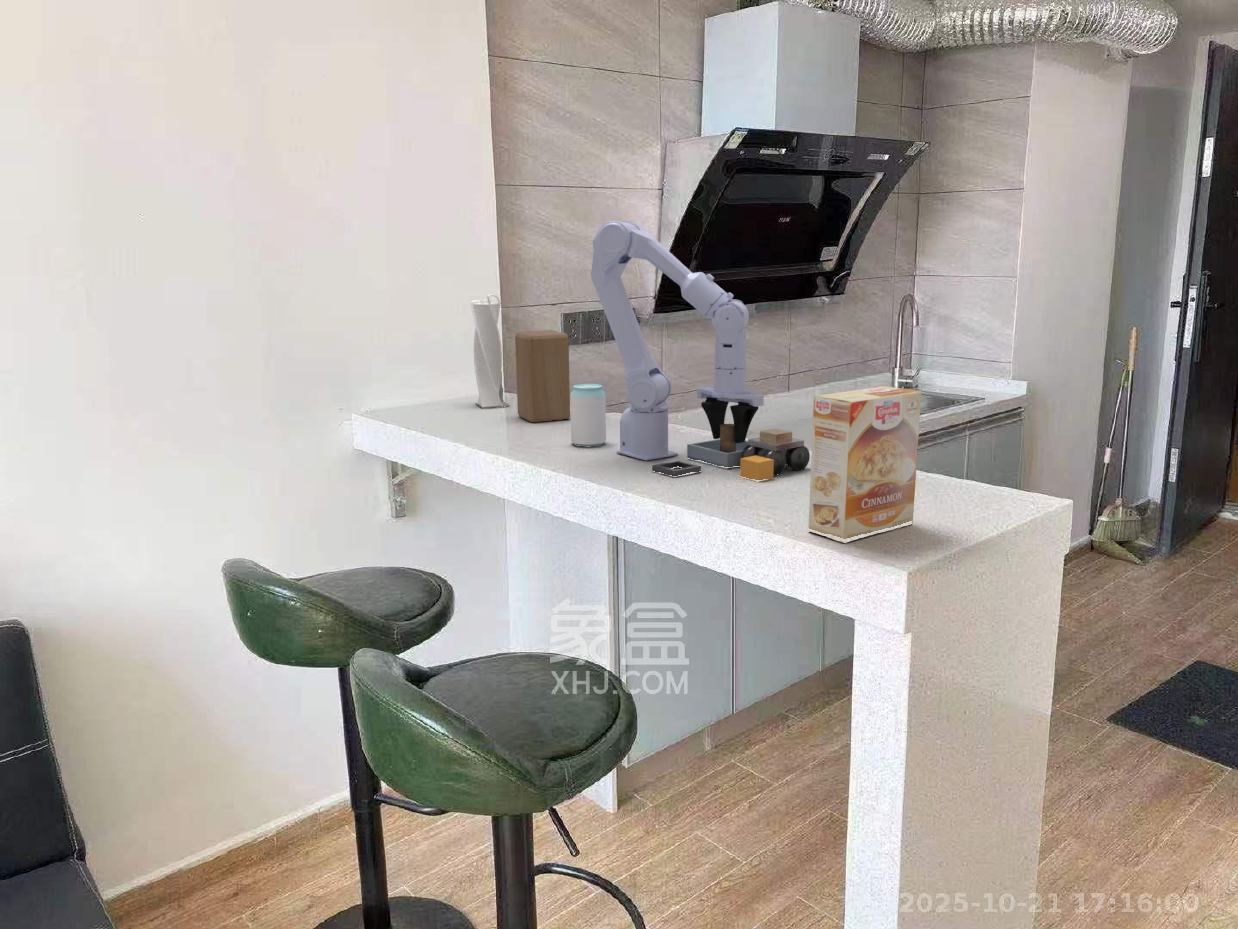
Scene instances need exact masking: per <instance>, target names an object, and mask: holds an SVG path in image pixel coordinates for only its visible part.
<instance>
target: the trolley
mask: <svg viewBox="0 0 1238 929" xmlns="http://www.w3.org/2000/svg"><path fill="white" fill-rule="evenodd" d="M747 441H748V446H746V447H745V448H744V450H743V451H742V454H741V458H745V457H750V456H755V455H756V456H760V457H764V458H769V459H773V460H774V468H773V476H778V475H777V474H779V475H781V474H782V473H783V472H784V471H785V468H786V467H788V468H789V469H791V470H796V471H803V470H805V468H807V466H808V465H809V462H810V458H811V456H810V455H811V454H810V450H809V448H808V447H806V446H805V439H801V438H800V439H798V438H794V437H793V431H789V430H785V429H780V428H772V429H771V428H770V429H765V430H760V431H759V436H758V437H754V438H748V439H747ZM763 448H764V449H766V450H764V449H763Z"/></svg>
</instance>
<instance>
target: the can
mask: <svg viewBox="0 0 1238 929" xmlns="http://www.w3.org/2000/svg"><path fill="white" fill-rule="evenodd" d="M572 388H573V389H572V391H570V437H571V438H570V441H571V443H572V444H574V445H575V444H576V445H580V446H597V447H599V446H598V445H601V444H602V445H603V444H605V443H606V441H607V427H606V426H607V425H606V424H607V418H606V417H607V416H606V408H607V406H606V403H607V402H606V392H605V391H604V389H603V385H601V384H598V383H583V384H582V383H580V384H575V385H573V387H572ZM576 445H575V446H576ZM602 445H601V446H602Z"/></svg>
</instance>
